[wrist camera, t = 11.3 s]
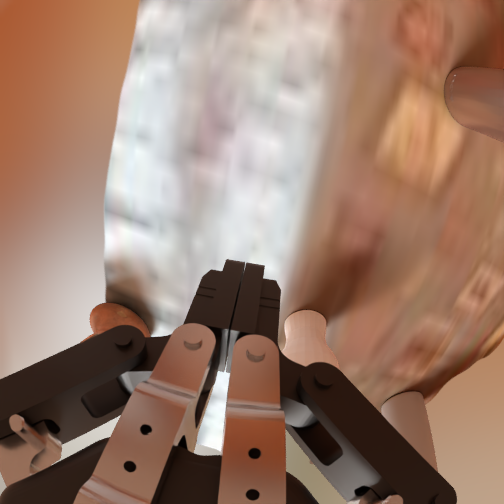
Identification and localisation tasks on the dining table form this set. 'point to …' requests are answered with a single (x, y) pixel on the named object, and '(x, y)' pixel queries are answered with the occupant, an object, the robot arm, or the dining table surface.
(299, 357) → the white flared cylinder
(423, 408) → the cylinder vase
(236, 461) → the robot arm
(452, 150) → the dining table surface
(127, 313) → the ceramic jug
